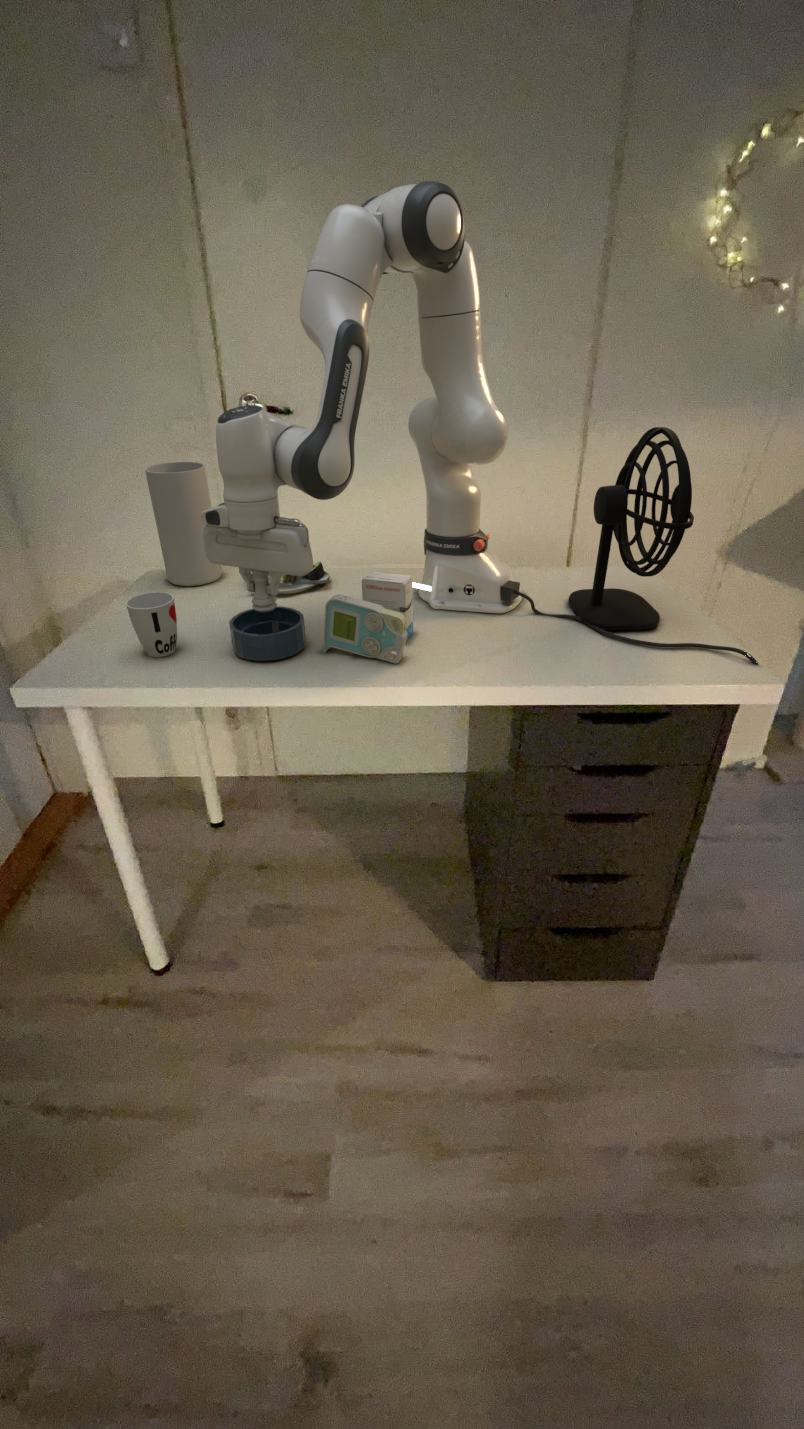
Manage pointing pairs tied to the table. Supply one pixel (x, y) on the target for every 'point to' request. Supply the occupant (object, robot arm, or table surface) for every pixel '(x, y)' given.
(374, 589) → the ink box
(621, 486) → the desk fan
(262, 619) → the bowl
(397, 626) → the handheld gaming console
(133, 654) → the table surface
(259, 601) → the rook chess piece
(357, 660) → the table surface
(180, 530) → the cylinder vase
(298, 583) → the salad plate
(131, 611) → the cup
